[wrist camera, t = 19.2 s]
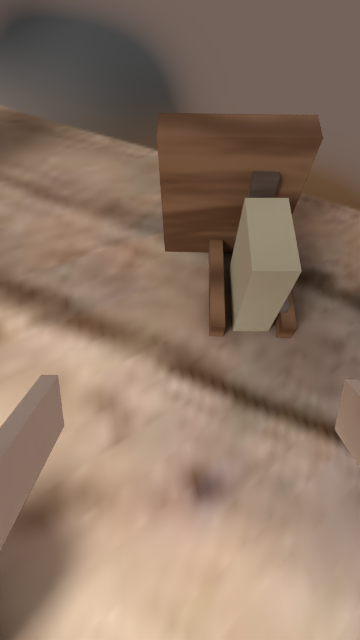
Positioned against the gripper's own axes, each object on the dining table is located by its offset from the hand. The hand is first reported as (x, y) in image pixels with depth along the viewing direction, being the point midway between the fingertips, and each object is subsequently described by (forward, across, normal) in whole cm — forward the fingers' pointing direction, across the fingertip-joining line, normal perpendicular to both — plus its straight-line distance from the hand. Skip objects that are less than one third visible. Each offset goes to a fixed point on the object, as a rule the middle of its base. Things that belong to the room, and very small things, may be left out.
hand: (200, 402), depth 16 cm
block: (+25, +7, -2) cm, 26 cm away
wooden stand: (+27, +4, -1) cm, 27 cm away
